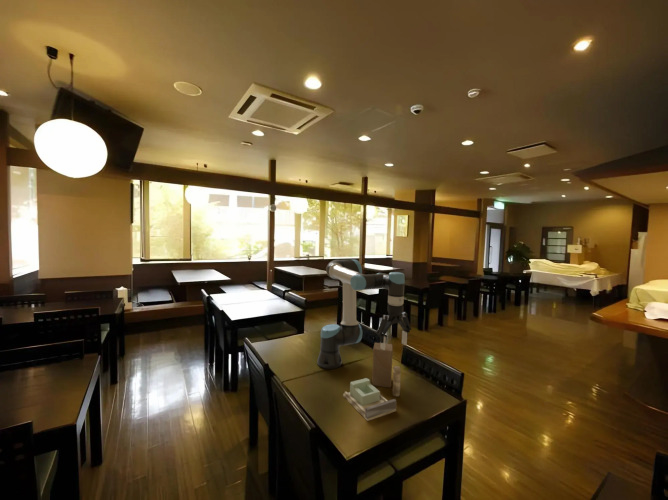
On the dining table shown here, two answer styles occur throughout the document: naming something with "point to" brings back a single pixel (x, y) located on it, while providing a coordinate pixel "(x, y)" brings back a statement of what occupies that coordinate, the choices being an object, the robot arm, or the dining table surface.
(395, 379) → the dowel
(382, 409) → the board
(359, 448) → the dining table surface
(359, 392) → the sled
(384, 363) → the wooden block
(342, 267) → the robot arm
